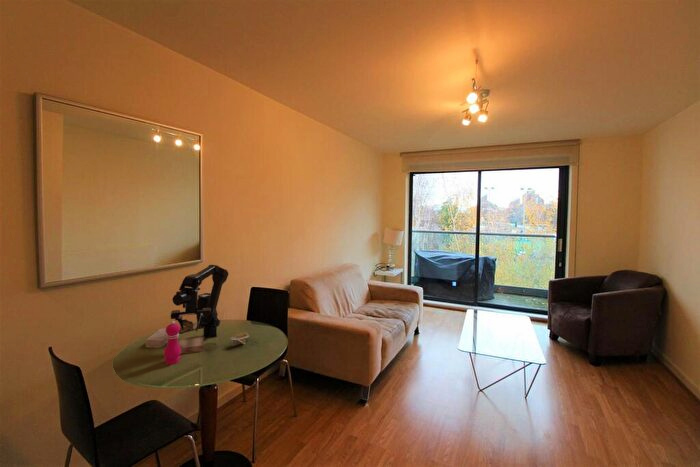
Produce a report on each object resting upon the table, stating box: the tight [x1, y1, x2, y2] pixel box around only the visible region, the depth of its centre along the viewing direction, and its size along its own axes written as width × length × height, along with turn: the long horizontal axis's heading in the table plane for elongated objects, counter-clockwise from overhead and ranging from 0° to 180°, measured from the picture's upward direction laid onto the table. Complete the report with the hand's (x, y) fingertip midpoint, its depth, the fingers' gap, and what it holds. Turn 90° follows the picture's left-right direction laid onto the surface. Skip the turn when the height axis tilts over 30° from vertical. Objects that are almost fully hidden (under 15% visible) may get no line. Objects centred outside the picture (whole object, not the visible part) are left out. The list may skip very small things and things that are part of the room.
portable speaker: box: [195, 292, 211, 328], centre depth 200 cm, size 9×9×20 cm
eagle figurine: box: [178, 318, 199, 335], centre depth 168 cm, size 8×7×9 cm
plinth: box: [178, 336, 204, 355], centre depth 169 cm, size 12×12×3 cm
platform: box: [230, 331, 250, 347], centre depth 176 cm, size 12×18×7 cm, turn 135°
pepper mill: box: [163, 320, 181, 365], centre depth 153 cm, size 7×7×20 cm
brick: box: [145, 327, 168, 349], centre depth 175 cm, size 17×8×5 cm, turn 5°
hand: (191, 328), depth 169 cm, fingers closed on eagle figurine, 7 cm apart
